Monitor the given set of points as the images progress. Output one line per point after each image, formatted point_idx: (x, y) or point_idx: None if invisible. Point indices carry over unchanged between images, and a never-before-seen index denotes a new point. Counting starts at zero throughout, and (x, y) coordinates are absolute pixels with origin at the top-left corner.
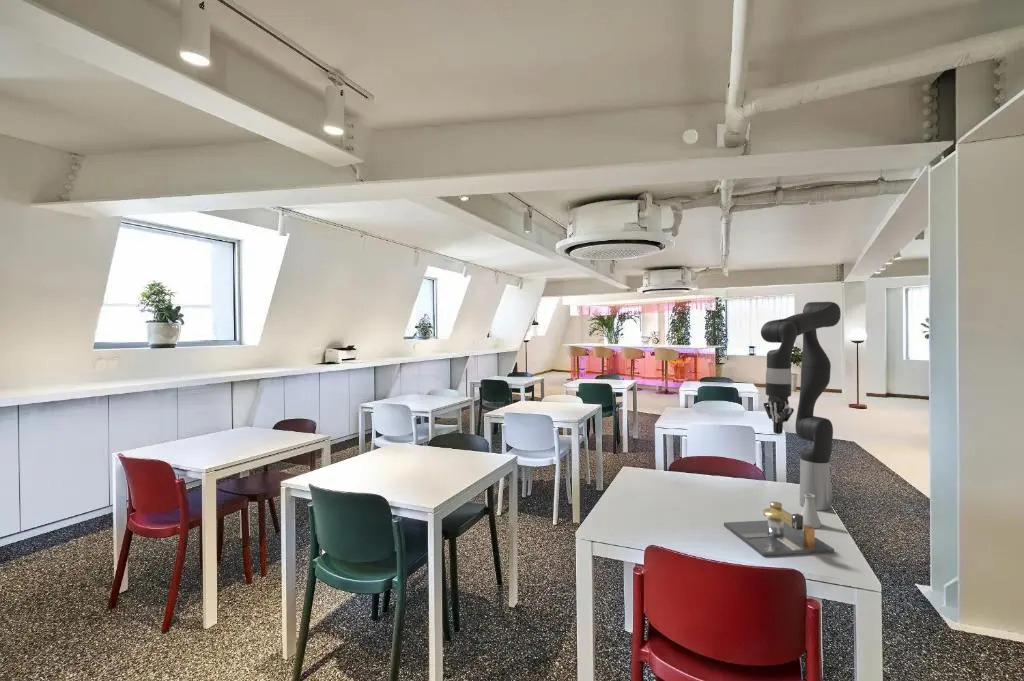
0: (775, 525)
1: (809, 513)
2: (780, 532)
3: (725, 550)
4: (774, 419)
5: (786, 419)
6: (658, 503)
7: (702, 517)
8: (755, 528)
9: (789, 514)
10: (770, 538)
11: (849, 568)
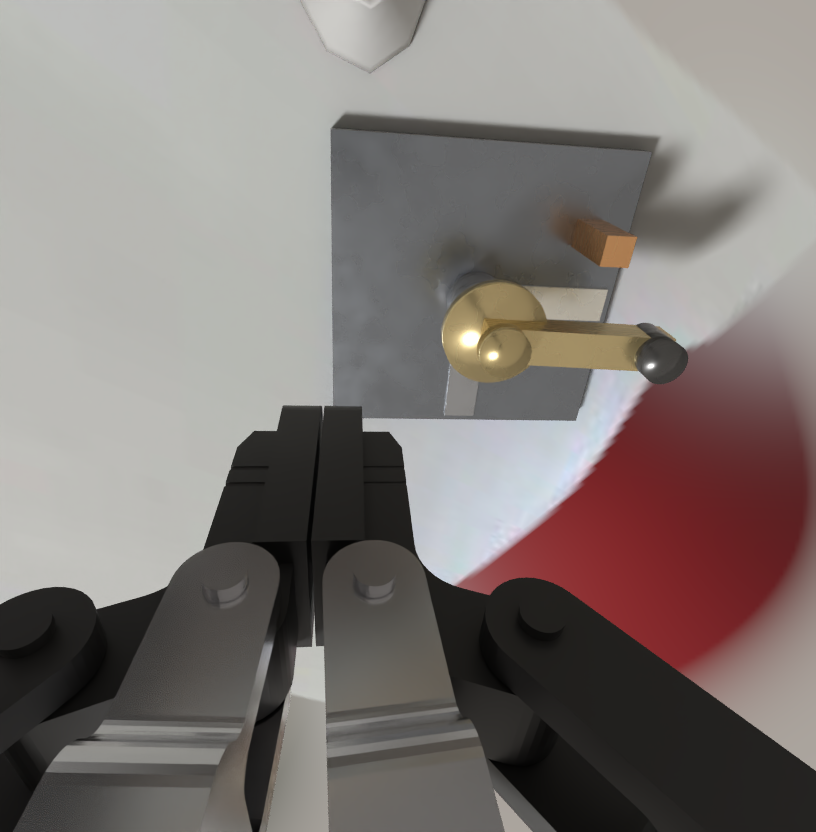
0: None
1: (397, 16)
2: None
3: (502, 486)
4: (284, 709)
5: (594, 664)
6: (101, 523)
7: None
8: (403, 338)
9: (592, 344)
10: None
11: (744, 197)
